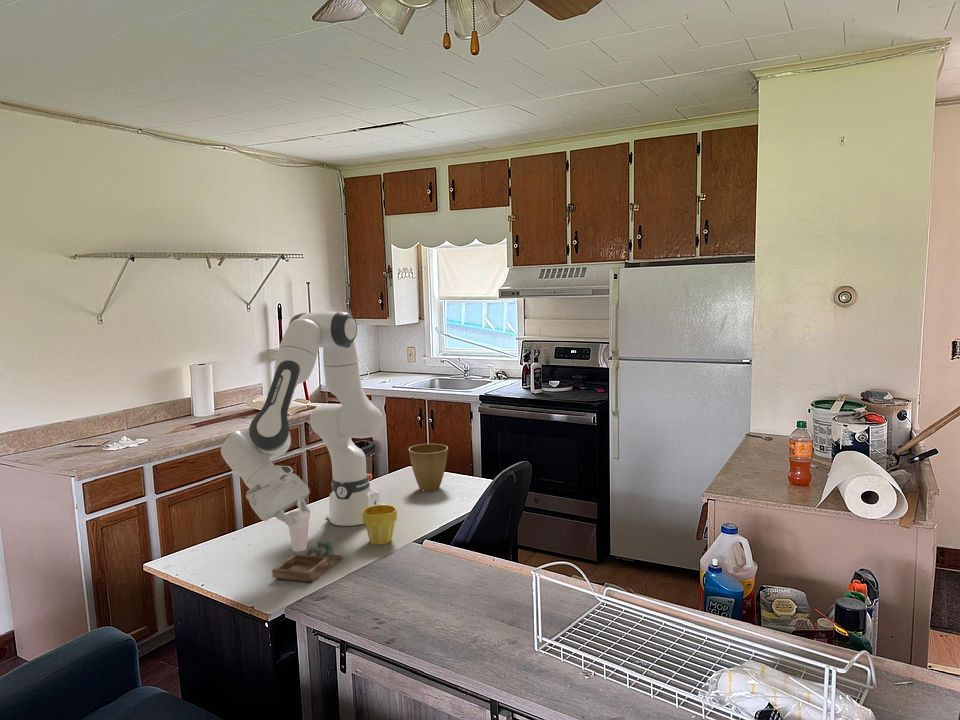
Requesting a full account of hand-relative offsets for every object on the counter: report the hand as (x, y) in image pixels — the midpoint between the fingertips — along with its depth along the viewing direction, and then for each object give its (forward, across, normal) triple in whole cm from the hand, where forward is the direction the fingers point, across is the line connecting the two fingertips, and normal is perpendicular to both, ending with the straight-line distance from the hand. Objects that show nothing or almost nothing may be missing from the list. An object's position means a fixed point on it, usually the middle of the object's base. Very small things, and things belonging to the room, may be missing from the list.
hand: (300, 519), depth 181 cm
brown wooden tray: (+11, +4, +11) cm, 16 cm away
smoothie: (+6, 0, +7) cm, 9 cm away
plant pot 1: (+18, +27, +4) cm, 33 cm away
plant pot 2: (+15, +80, +6) cm, 82 cm away
